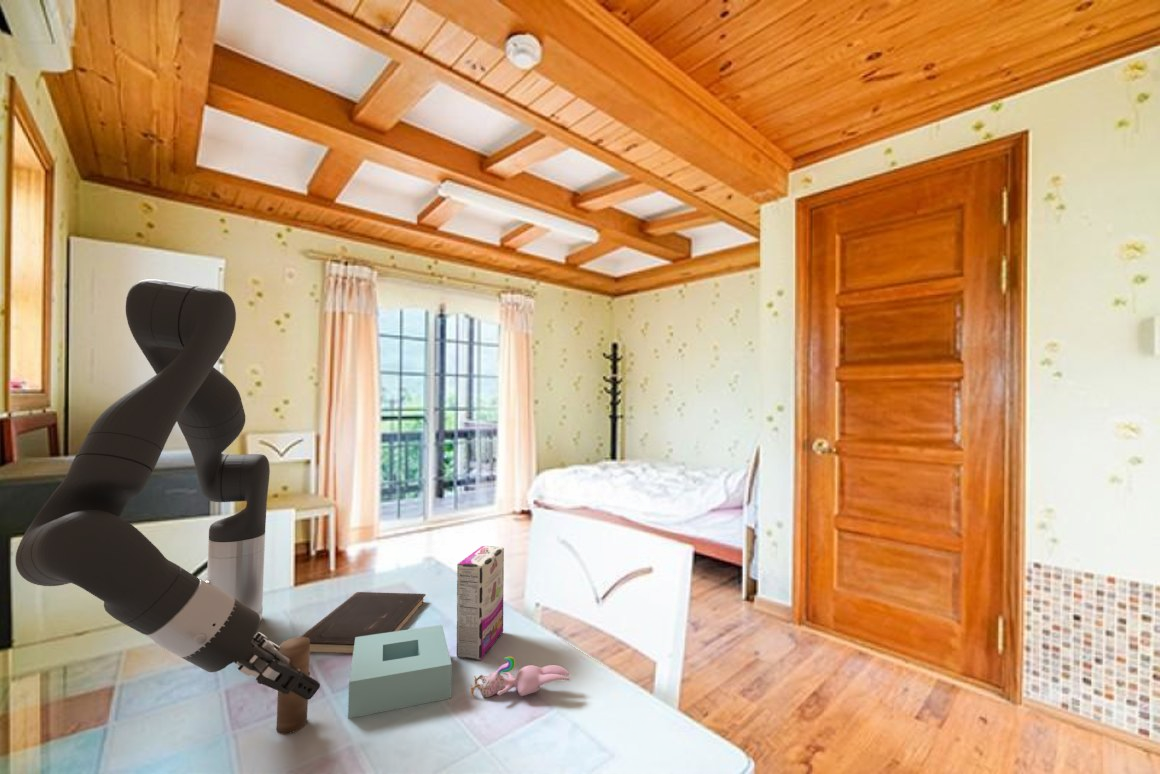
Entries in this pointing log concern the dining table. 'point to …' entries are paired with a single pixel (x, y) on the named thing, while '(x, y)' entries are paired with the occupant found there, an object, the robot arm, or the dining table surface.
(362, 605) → the hardcover book
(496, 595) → the candy bar box
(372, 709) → the square hole block
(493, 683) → the rabbit figure
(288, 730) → the brown round-topped dowel
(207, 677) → the dining table surface
